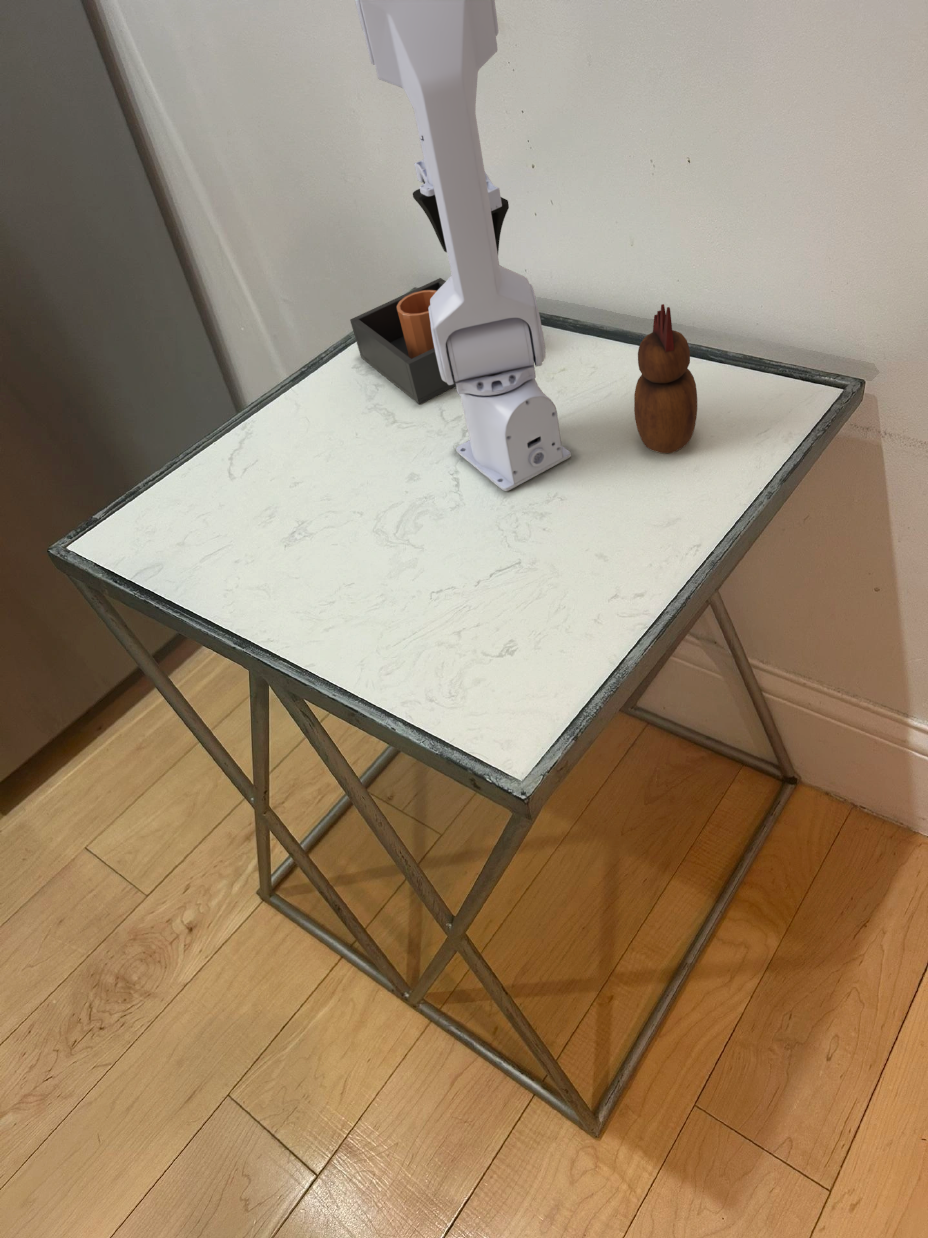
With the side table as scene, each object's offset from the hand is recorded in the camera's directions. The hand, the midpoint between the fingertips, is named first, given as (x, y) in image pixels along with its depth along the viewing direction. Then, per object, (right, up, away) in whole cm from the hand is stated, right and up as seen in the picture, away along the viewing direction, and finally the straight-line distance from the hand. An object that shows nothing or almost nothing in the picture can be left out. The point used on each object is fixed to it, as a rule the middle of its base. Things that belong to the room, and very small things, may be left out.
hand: (470, 258), depth 106 cm
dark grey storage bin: (-4, -10, +5) cm, 12 cm away
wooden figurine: (+19, -23, -14) cm, 33 cm away
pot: (-4, -9, +4) cm, 11 cm away
